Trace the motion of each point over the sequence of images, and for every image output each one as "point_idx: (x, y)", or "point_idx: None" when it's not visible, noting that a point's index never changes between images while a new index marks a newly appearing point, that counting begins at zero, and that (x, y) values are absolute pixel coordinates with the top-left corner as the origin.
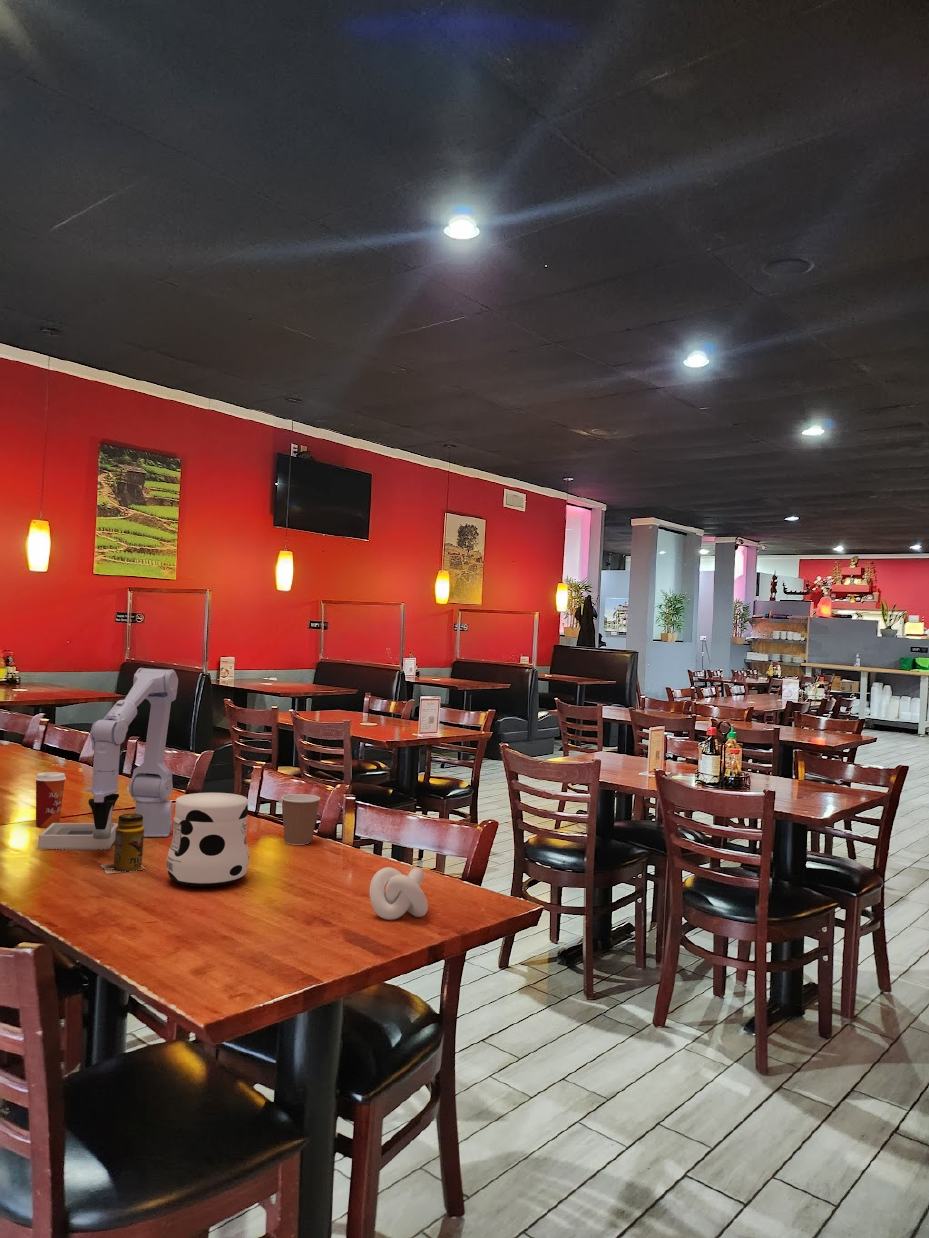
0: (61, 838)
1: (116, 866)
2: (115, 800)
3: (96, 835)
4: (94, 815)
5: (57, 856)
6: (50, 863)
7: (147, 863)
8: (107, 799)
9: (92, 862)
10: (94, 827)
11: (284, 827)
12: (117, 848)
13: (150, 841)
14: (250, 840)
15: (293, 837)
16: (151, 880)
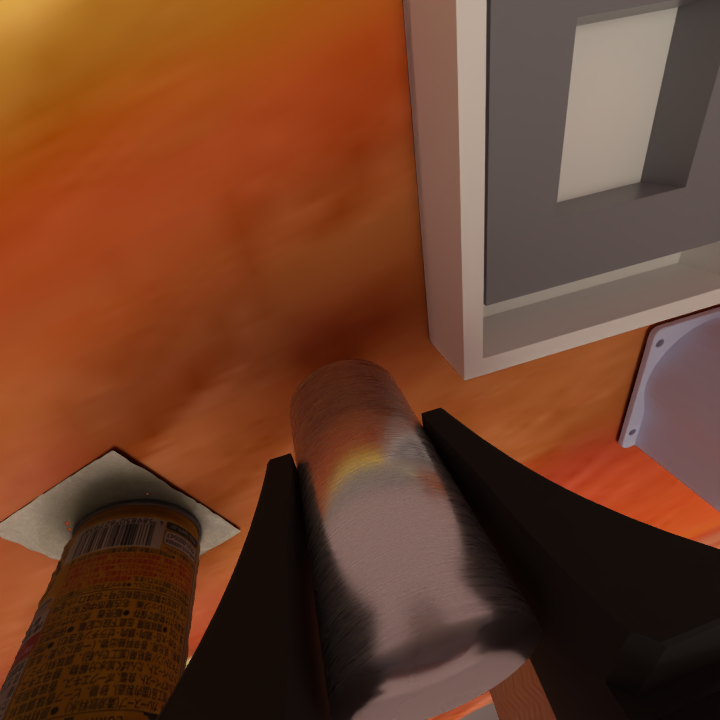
0: (442, 37)
1: (65, 545)
2: (550, 698)
3: (292, 418)
4: (236, 580)
5: (229, 114)
6: (14, 151)
7: (238, 551)
8: (570, 678)
9: (169, 383)
10: (310, 435)
11: (527, 701)
12: (24, 639)
13: (567, 420)
14: None
15: (495, 692)
16: (13, 657)
